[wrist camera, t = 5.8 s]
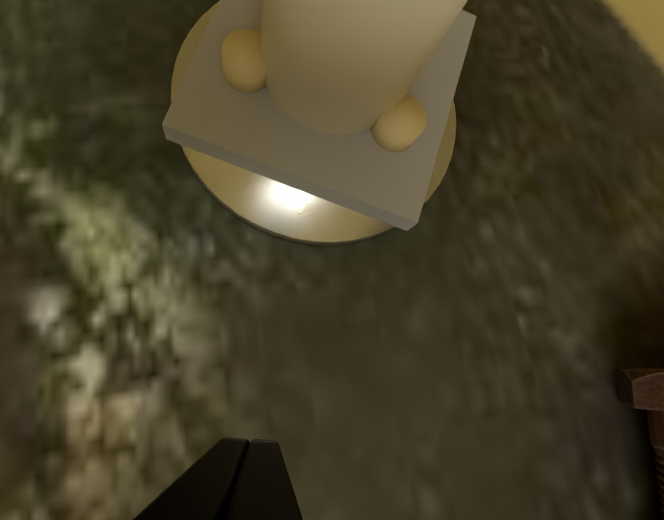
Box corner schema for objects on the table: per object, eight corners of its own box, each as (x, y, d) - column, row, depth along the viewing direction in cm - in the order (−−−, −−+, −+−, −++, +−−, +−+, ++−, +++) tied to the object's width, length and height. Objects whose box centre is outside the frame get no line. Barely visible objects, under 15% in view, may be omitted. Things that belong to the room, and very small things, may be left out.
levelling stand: (410, 287, 22) (427, 279, 20) (123, 182, 20) (112, 162, 18) (474, 54, 25) (494, 28, 23) (234, -52, 24) (235, -88, 22)
